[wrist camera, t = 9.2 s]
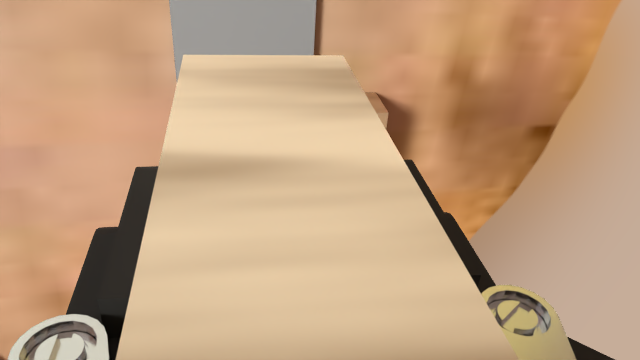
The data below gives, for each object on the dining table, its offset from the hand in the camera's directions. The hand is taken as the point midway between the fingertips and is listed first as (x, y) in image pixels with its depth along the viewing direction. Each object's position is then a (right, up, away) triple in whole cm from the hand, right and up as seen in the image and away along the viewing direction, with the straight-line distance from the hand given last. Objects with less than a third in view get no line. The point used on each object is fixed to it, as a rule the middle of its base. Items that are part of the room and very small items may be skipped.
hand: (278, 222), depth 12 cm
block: (-1, +3, +4) cm, 5 cm away
